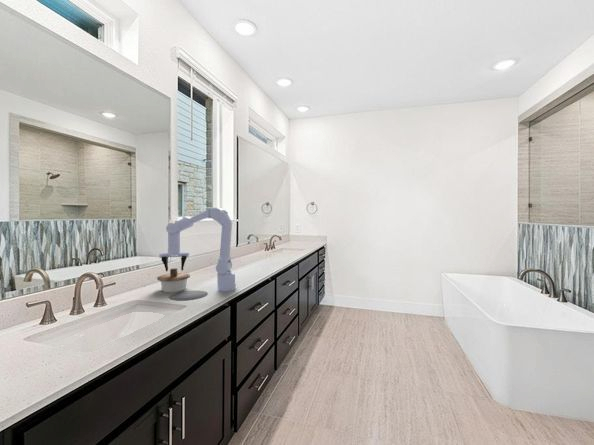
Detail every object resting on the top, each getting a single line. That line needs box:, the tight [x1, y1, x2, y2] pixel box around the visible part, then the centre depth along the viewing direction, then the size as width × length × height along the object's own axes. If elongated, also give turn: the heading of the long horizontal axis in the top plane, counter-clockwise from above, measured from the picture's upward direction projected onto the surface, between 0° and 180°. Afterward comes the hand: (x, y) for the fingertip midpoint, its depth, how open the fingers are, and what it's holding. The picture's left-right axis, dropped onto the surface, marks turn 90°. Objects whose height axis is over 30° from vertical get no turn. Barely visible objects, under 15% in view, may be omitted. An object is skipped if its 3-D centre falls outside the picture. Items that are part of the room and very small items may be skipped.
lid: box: [156, 267, 191, 282], centre depth 151 cm, size 16×16×5 cm
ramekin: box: [160, 278, 188, 293], centre depth 152 cm, size 13×13×7 cm
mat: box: [168, 290, 209, 302], centre depth 140 cm, size 18×18×1 cm
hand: (174, 270), depth 153 cm, fingers open, 7 cm apart
